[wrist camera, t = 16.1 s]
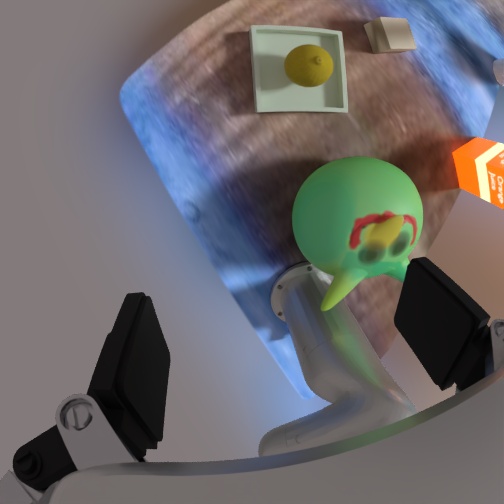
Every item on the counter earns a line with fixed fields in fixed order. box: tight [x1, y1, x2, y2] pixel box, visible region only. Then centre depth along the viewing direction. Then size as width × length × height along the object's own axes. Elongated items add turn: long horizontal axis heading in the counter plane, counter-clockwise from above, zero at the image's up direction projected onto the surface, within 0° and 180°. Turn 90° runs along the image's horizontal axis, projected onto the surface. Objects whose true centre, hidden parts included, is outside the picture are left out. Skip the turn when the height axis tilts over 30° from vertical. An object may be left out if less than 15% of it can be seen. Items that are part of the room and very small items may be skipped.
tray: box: [249, 25, 348, 113], centre depth 30 cm, size 12×12×2 cm
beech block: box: [364, 17, 417, 54], centre depth 27 cm, size 5×5×5 cm
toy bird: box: [292, 157, 423, 311], centre depth 34 cm, size 18×17×15 cm
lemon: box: [284, 44, 333, 87], centre depth 27 cm, size 6×6×8 cm
